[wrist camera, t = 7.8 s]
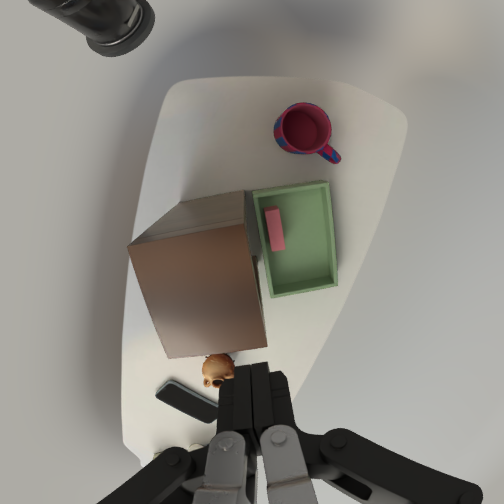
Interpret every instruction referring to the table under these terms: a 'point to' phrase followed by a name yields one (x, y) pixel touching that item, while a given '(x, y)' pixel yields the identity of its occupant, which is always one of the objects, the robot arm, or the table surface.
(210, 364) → the pot
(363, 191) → the table surface
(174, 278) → the walnut stand
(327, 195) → the tray
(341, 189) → the table surface
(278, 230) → the eraser
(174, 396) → the smartphone
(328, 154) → the cup
